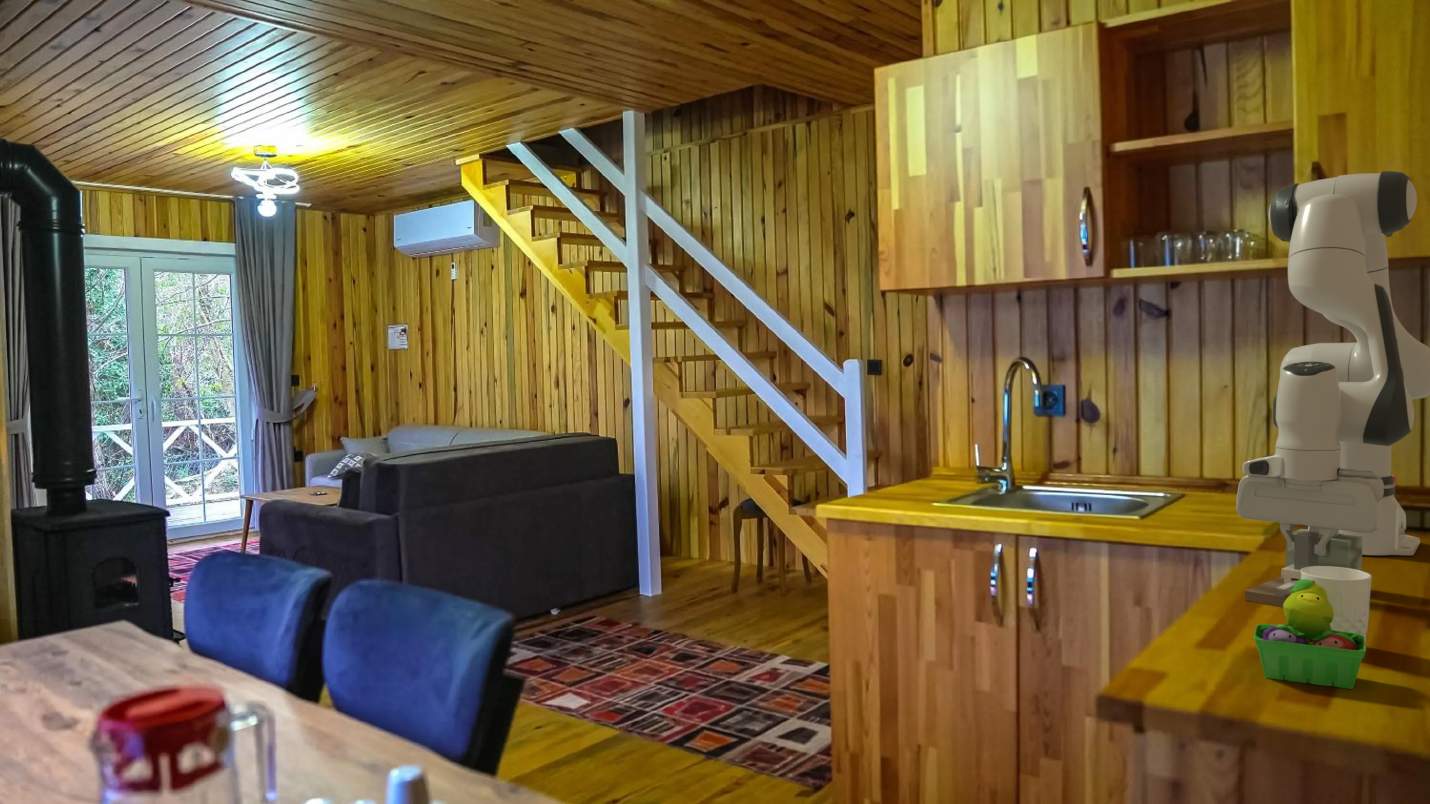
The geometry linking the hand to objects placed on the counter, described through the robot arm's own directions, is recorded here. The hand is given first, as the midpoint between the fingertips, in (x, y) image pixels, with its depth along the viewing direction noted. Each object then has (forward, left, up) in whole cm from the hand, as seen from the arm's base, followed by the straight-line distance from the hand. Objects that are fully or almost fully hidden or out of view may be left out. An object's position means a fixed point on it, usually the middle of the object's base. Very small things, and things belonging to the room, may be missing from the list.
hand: (1306, 553), depth 157 cm
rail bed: (0, 0, -6) cm, 7 cm away
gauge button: (-7, 0, +2) cm, 7 cm away
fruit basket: (+40, +15, -7) cm, 43 cm away
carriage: (0, 0, -5) cm, 5 cm away
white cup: (+26, +13, -7) cm, 30 cm away
